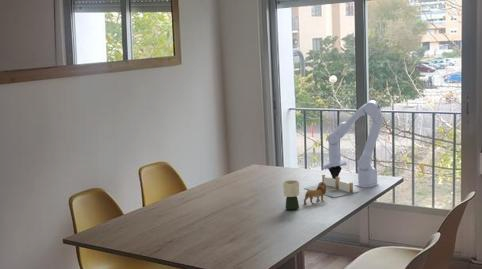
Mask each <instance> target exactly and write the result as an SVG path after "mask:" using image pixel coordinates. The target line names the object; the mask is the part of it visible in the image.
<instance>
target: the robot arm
mask: <svg viewBox="0 0 482 269" xmlns="http://www.w3.org/2000/svg"><path fill="white" fill-rule="evenodd" d="M366 115H367V116H369V117H370V119H371V120H372V123H371V124H372V125H371V128H370V130H369V133H368V136H367V139H366V142H365V145H364V148H363V152H362V153H361V155H360V157H359V159H358V160H357V179H358V180H357V181H358V182H357V183H354V186H356V187H360V188H364V189H366V188H371V187H376V186H379V183H378V172H377V169H376V168H375V167H373V166H372V163H373V158H372V157H373V154H374V153H373V152H374V151H375V150H374V149H375V146H376V143H377V141H378V138H379V135H380V132H381V128H382V125H383V121H384V116H383V112H382V108H381V105H380V104H379V103H378V101H376V100H373V99H371V100H368V101H367V102H366V103H364V104H363V105H361V106H360V107H359V108H358V109H357V110H356V111H355V112H354V113H353V114H352V115H351V116H350V117H349V118H348V119H347V120H346V121H342V122H339V123H338V126H336V127H335V128H334V129H332V130H331V131H332V132H331V133H329V135H328V136H327V138H326V139H327V142H328V163H326V164H322V170H328V171H329V173H330V176H331V178H333V179H336V177H340V176H339V175H340V173H341V171H342V166H347V165H348V164H347V161H344V160H343V161H341V150H340V148H341V147H340V141H341V139H342V138H344V136H346V134H348V132H350V130H351V126H352V125H353V124H354V123H355V122H356V121H358V120H359V119H360V117H363V116H366Z"/></svg>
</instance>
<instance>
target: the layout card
mask: <svg viewBox="0 0 482 269" xmlns="http://www.w3.org/2000/svg"><path fill="white" fill-rule="evenodd" d="M317 188H318V184H317V185H313V186H308V187H304V188H303V189H304V190H307V191H308V190H315V189H317ZM357 193H360V191H359V190H355V189H353V193H350V192H347V191H344V190H340V189H336V187H332V186H329V185H326V193H325V194H324V195H323V196H326V197H329V198H333V199H336V198H341V197H344V196H349V195H353V194H357Z"/></svg>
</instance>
